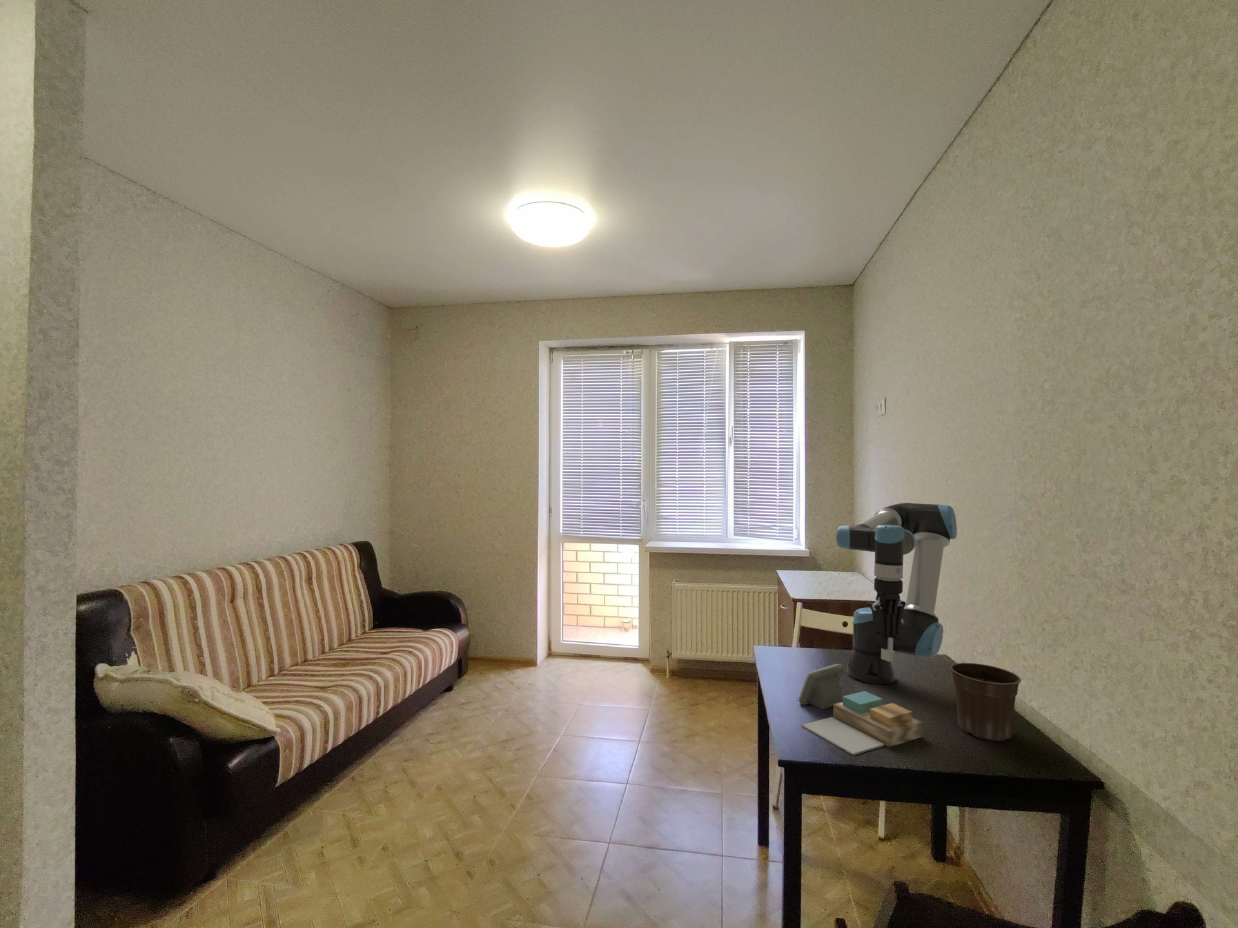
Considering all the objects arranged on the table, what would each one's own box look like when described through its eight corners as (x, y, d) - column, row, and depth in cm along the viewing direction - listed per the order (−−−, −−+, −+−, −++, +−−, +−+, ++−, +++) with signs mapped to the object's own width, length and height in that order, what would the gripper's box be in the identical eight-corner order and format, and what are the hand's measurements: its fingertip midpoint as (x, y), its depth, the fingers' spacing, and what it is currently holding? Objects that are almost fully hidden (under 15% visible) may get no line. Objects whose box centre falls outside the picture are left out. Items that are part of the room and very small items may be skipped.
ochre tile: (892, 711, 155) (892, 702, 155) (912, 720, 150) (912, 711, 150) (869, 717, 151) (869, 708, 151) (889, 727, 146) (889, 717, 146)
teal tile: (864, 699, 163) (864, 690, 163) (882, 707, 158) (882, 698, 158) (842, 704, 159) (842, 696, 159) (860, 713, 154) (860, 704, 154)
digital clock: (831, 692, 178) (832, 659, 178) (853, 703, 170) (854, 668, 170) (790, 699, 172) (791, 665, 172) (811, 712, 163) (812, 675, 163)
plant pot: (939, 715, 163) (940, 659, 163) (1001, 720, 160) (1002, 664, 160) (964, 742, 147) (965, 680, 147) (1032, 748, 144) (1033, 686, 144)
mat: (831, 718, 159) (831, 716, 159) (884, 745, 144) (884, 743, 144) (801, 726, 154) (801, 724, 154) (853, 755, 139) (853, 753, 139)
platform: (864, 710, 165) (864, 696, 165) (921, 736, 149) (922, 721, 149) (833, 718, 159) (833, 704, 159) (889, 747, 143) (889, 731, 143)
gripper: (884, 582, 157) (882, 666, 156) (914, 579, 163) (913, 660, 162) (862, 577, 163) (860, 658, 163) (891, 574, 169) (890, 652, 169)
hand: (886, 659), depth 163 cm, fingers closed
